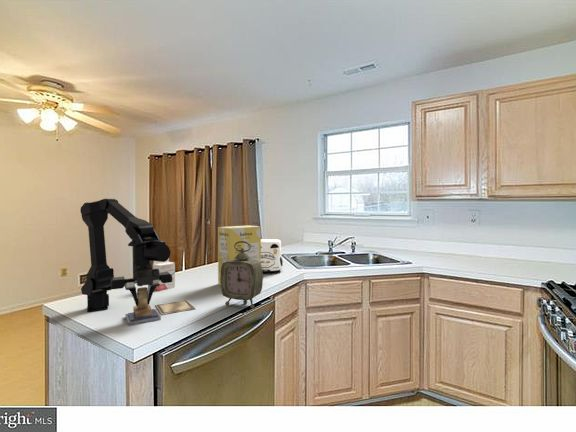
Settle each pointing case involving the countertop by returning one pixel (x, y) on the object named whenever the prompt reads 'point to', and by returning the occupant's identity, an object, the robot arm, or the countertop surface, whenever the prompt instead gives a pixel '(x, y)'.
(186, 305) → the marked card
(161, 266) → the ink cartridge box
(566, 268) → the countertop surface
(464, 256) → the countertop surface
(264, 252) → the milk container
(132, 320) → the ink pad
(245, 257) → the tabletop clock
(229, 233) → the pasta box
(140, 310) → the stamp
